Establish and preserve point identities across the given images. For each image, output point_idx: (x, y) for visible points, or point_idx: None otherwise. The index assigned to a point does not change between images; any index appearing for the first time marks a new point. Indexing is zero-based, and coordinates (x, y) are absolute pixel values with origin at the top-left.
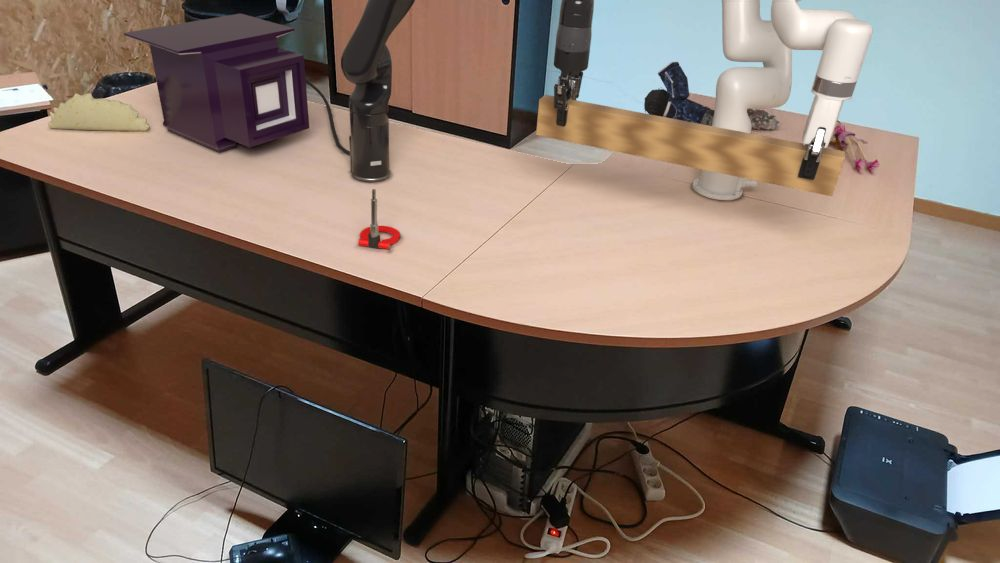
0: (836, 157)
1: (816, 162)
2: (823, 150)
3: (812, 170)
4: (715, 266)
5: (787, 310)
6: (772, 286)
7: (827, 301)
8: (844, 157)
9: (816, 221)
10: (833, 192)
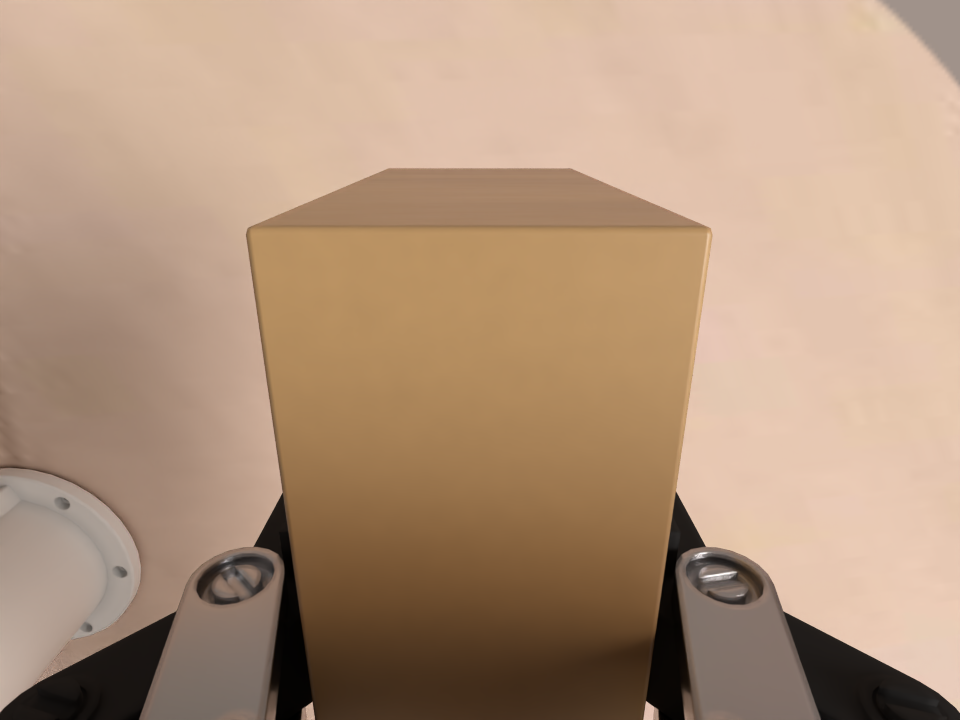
0: (685, 384)
1: (672, 554)
2: (466, 599)
3: (681, 508)
4: (694, 479)
5: (951, 215)
6: (776, 283)
7: (835, 51)
8: (655, 238)
9: (25, 129)
10: (577, 171)
